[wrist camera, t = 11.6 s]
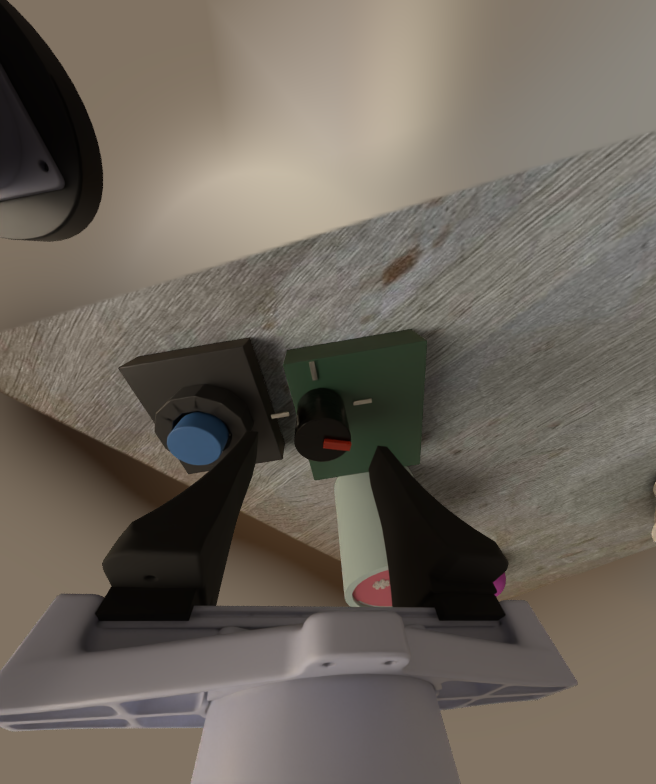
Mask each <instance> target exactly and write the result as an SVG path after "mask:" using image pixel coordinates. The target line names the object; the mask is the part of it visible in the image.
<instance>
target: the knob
mask: <svg viewBox="0 0 656 784" xmlns="http://www.w3.org/2000/svg"><path fill="white" fill-rule="evenodd" d="M294 443H295V447H296V449H297V451H298V452H299V453H300V454H301V455H302V456H303V457H305V458H307V459H309V460H312V461H317V462H327V461H332V460H335V459H337V458H339V457H341V456H342V455H343V454H344V453H345V452H346V451H350V448H351V445H352V444H351V433H350V428H349V424H348V419H347V415H346V410H345V405H344V402H343V399H342V398H341V396H340V395H339V394H338V393H336V392H335V391H333V390H330V389H327V388H316V389H313V390H310V391H308V392H307V393H305V394H304V395H303V396H302V397H301V399H300V400H299V403H298V408H297V417H296V427H295V437H294Z"/></svg>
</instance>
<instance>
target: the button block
mask: <svg viewBox="0 0 656 784" xmlns="http://www.w3.org/2000/svg"><path fill="white" fill-rule="evenodd" d="M118 369H119V370H120V372H121V373H122V375H123V376H124V378H125V379H126V381H127V382H128V384H129V385H130V387H131V388H132V390H133V391H134V393H135V394H136V396H137V397H138V399H139V400H140V402H141V403H142V405H143V406H144V408H145V409H146V411H147V412H148V414H149V415H150V417H151V419H152V420H153V422H154V423H155V433H156V435H157V436H158V438H159V439H160V441H161V442H162V444H163V445H164V447H165V448H166V449H167V450H168V451H170V450H169V449H168V446H167V437H168V435H169V434H170V432H171V431H172V430H173V429H174V427H175V426H176V425H177V424H178V422H179V421H180V420H181V419H182V418H183V417H184V416H186V415H187V414H190V413H194V412H204V413H208V414H211V415H214V416H216V417H217V418H219V419H220V420H221V421H223V423H224V424H225V425H226V427H227V429H228V432H229V437H228V440H227V443H226V445H225V447H224V449H223V451H222V453H221V455H220V457H219V458H218V459H217V460H216V461H214V462H213V463H210V464H207V465H193V464H188V463H185V462H183V461H181V460H179V461H180V462H181V464H182V465H183V467H184V468H185V470H186V471H187V473H188V474H192V473H199V472H205V471H210V470H211V469H212V468H213V467H214V466H215V465H216V464H217V463H218V462H219V461H221V460H222V459H223V458H224V457H225V456H226V454H227V453H228V452H229V451H230V450H231V449H232V448H233V447H234V446H235V445H236V443H237V442H238V441H239V440H240V439H241V437H242V436H243V435H244V433H245V432H246V431H256V432H258V446H257V458H256V463H263V462H269V461H275V460H282V459H283V453H284V446H285V442H284V439H283V436H282V433H281V430H280V427H279V424H278V421H277V418H274V419H272V418H271V414H274V413H275V412H274V409H273V406H272V402H271V399H270V396H269V393H268V390H267V387H266V384H265V381H264V378H263V375H262V372H261V369H260V366H259V363H258V360H257V357H256V354H255V351H254V348H253V345H252V342H251V339H250V338H243V339H237V340H232V341H226V342H220V343H214V344H208V345H203V346H197V347H191V348H185V349H179V350H174V351H168V352H162V353H156V354H150V355H145V356H139V357H136V358H135V359H133V360H131V361H129V362H127V363H126V364H124V365H122V366H120V367H119V368H118ZM256 463H255V464H256Z"/></svg>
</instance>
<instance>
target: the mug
mask: <svg viewBox="0 0 656 784" xmlns="http://www.w3.org/2000/svg"><path fill="white" fill-rule="evenodd" d="M405 468H406V470H407V471H408V472H409V473H410V474H411V475H412V473H411V471H410V469H409V468H408V467H407V466H405ZM412 476H413V475H412ZM334 490H335V501H336V511H337V522H338V532H339V543H340V553H341V564H342V573H343V584H344V595H345V600H346V602H347V603H348V604H349V605H350V606H351V607H392V598H391V587H390V579H389V571H388V563H387V556H386V549H385V543H384V537H383V531H382V526H381V522H380V518H379V514H378V511H377V507H376V503H375V500H374V496H373V492H372V489H371V485H370V478H369V472H366V473H359V474H353V475H346V476H340V477H338V478H337V480H336V482H335V486H334Z"/></svg>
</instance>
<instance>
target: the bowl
mask: <svg viewBox="0 0 656 784" xmlns="http://www.w3.org/2000/svg"><path fill="white" fill-rule="evenodd" d="M653 491H654V494H655V496H656V482H655V484H654V487H653ZM654 524H655V525H654V527H653V530H652V534H651V535H652V538H653V541H654V542H655V543H656V507H655V520H654Z"/></svg>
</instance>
